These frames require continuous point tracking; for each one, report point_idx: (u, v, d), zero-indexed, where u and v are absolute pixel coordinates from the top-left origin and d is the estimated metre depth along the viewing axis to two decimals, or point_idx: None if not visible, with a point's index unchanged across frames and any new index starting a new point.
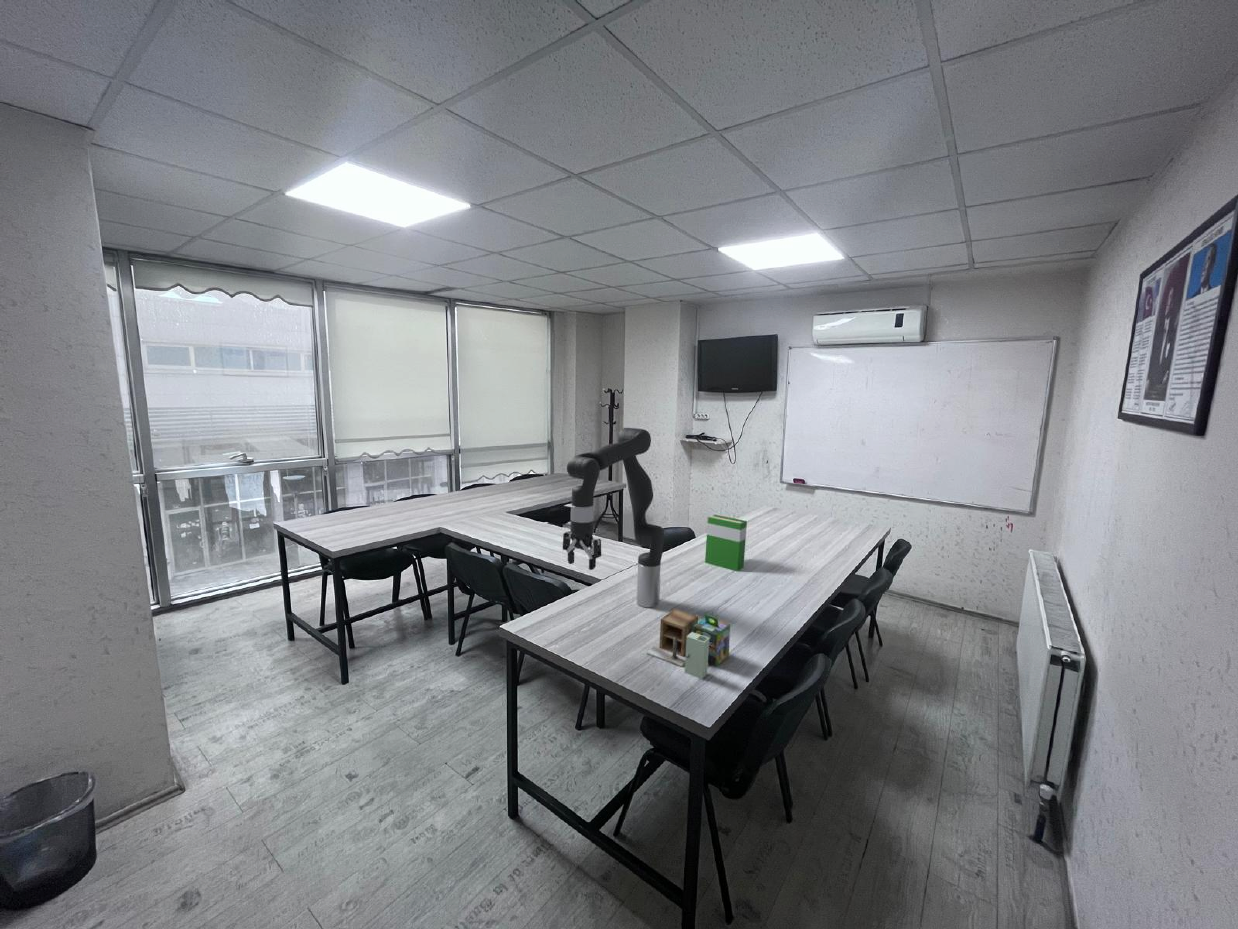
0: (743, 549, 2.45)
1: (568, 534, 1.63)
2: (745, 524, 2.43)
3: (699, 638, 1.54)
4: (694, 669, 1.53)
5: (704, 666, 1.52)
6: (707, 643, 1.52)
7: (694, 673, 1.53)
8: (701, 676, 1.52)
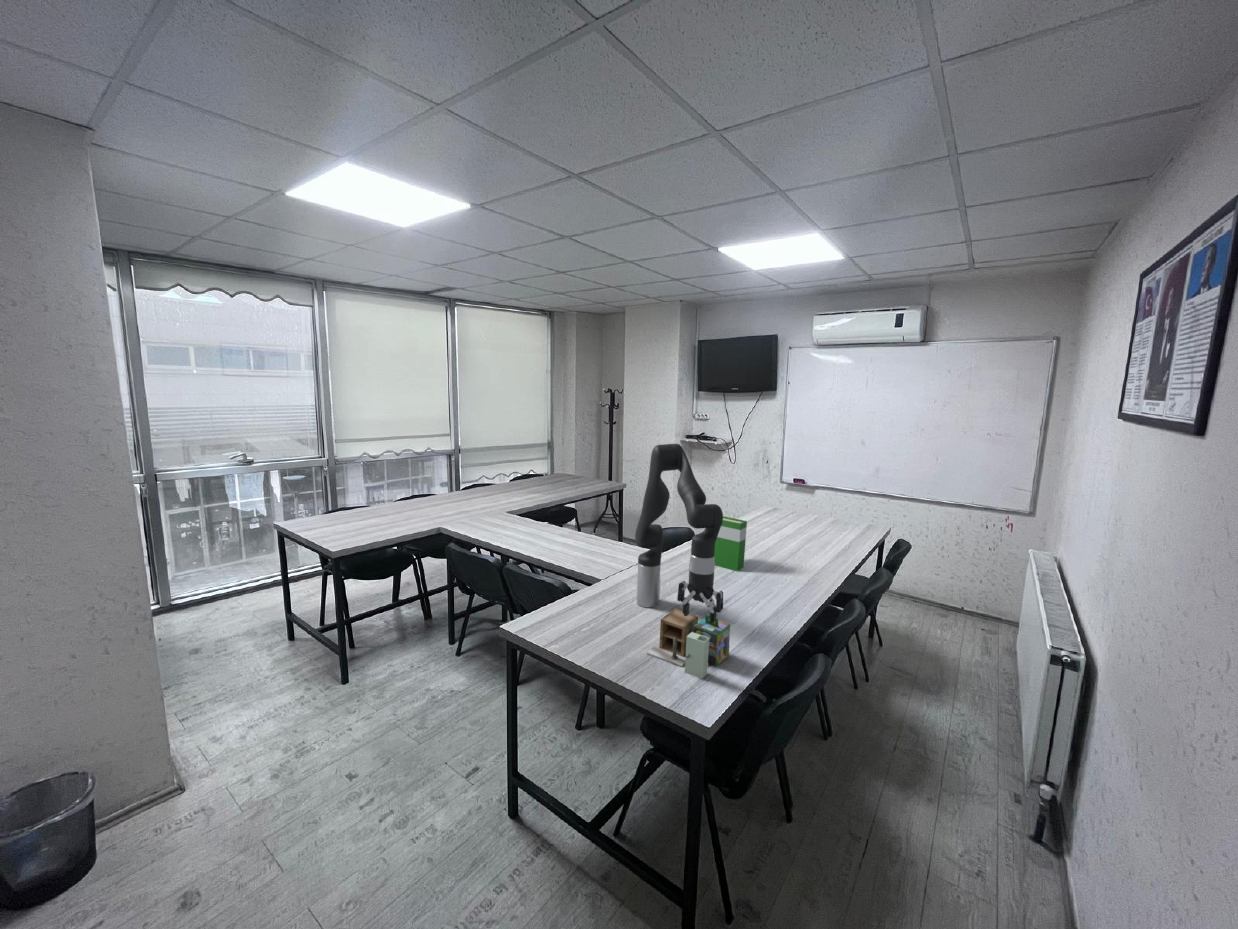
0: (743, 549, 2.45)
1: (684, 584, 1.53)
2: (745, 524, 2.43)
3: (699, 638, 1.54)
4: (694, 669, 1.53)
5: (704, 666, 1.52)
6: (707, 643, 1.52)
7: (694, 673, 1.53)
8: (701, 676, 1.52)
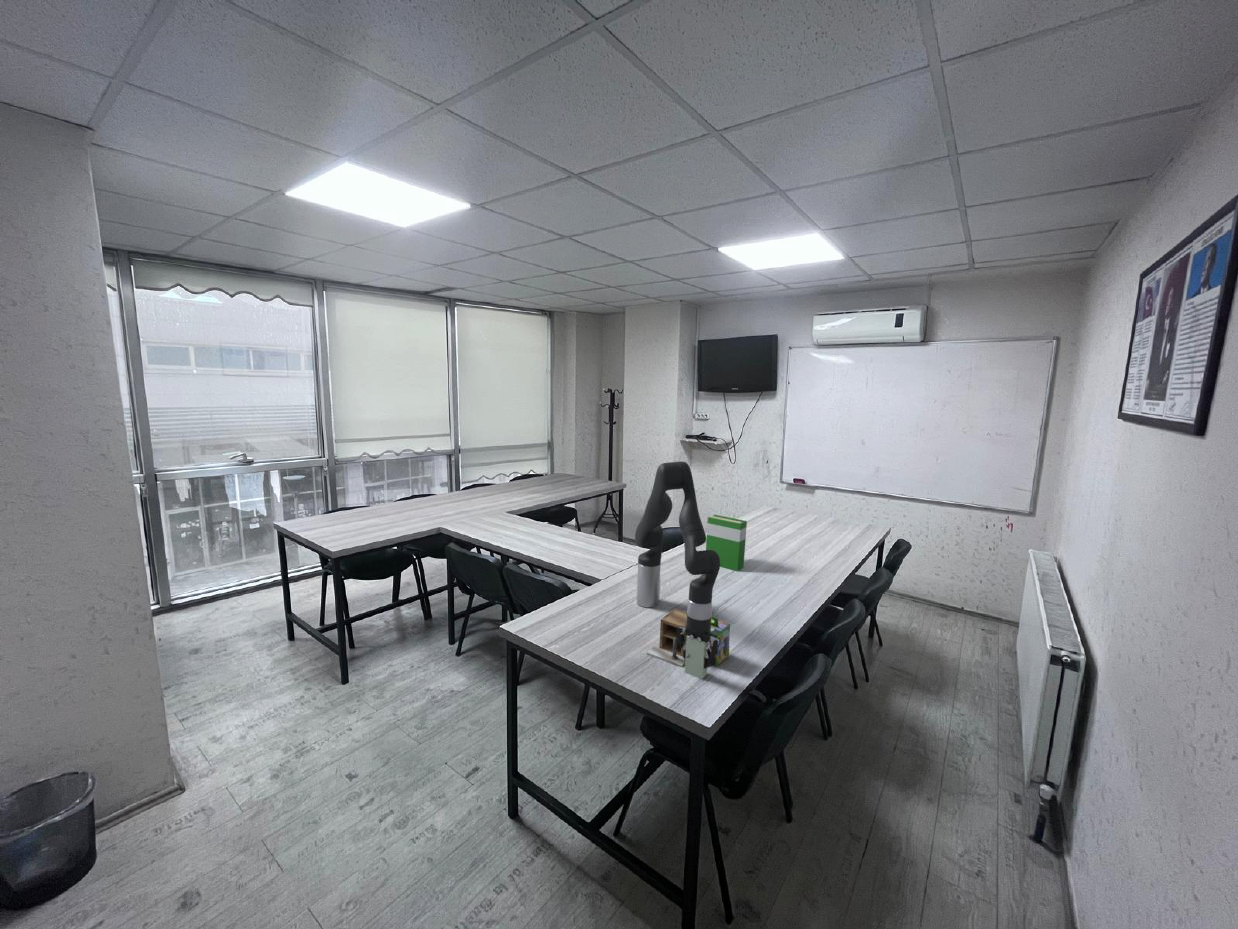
0: (743, 549, 2.45)
1: (682, 629, 1.56)
2: (745, 524, 2.43)
3: None
4: (694, 669, 1.53)
5: None
6: (707, 643, 1.52)
7: (694, 673, 1.53)
8: (701, 676, 1.52)
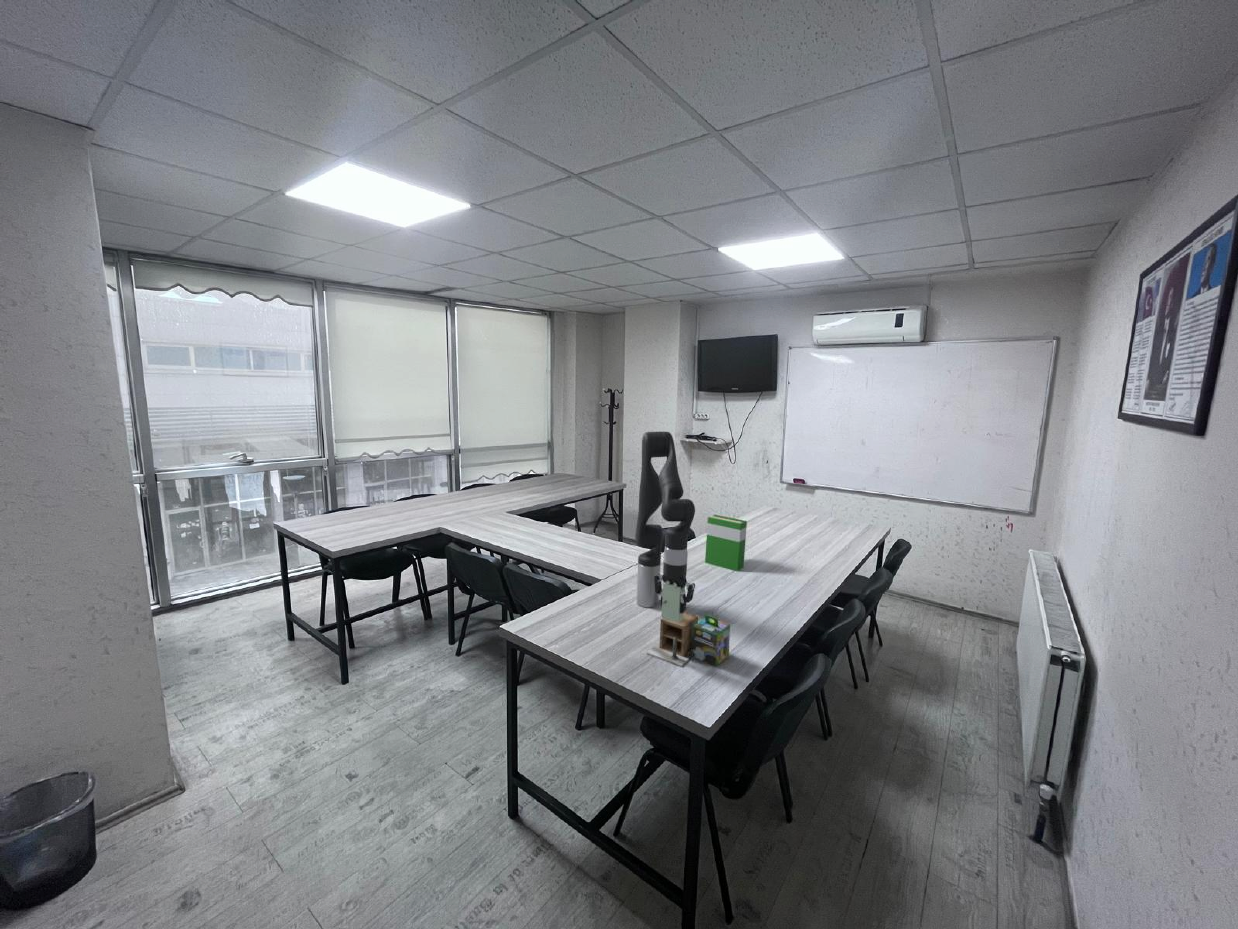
0: (743, 549, 2.45)
1: (659, 577, 1.61)
2: (745, 524, 2.43)
3: None
4: (670, 614, 1.59)
5: None
6: (683, 589, 1.58)
7: (670, 618, 1.59)
8: (677, 621, 1.58)
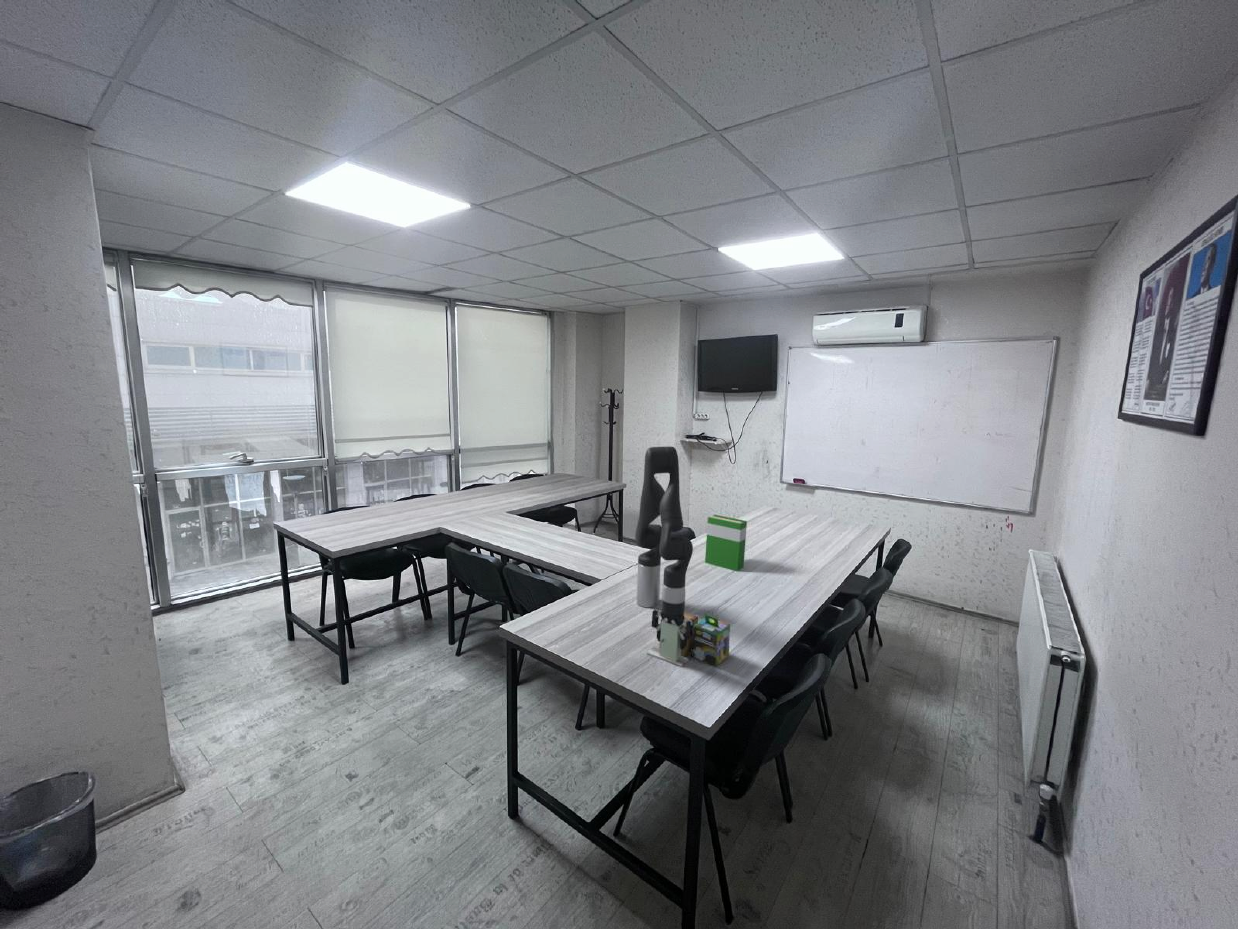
0: (743, 549, 2.45)
1: (657, 612, 1.63)
2: (745, 524, 2.43)
3: None
4: (668, 652, 1.61)
5: (677, 649, 1.60)
6: (680, 628, 1.60)
7: (668, 656, 1.61)
8: (675, 659, 1.60)
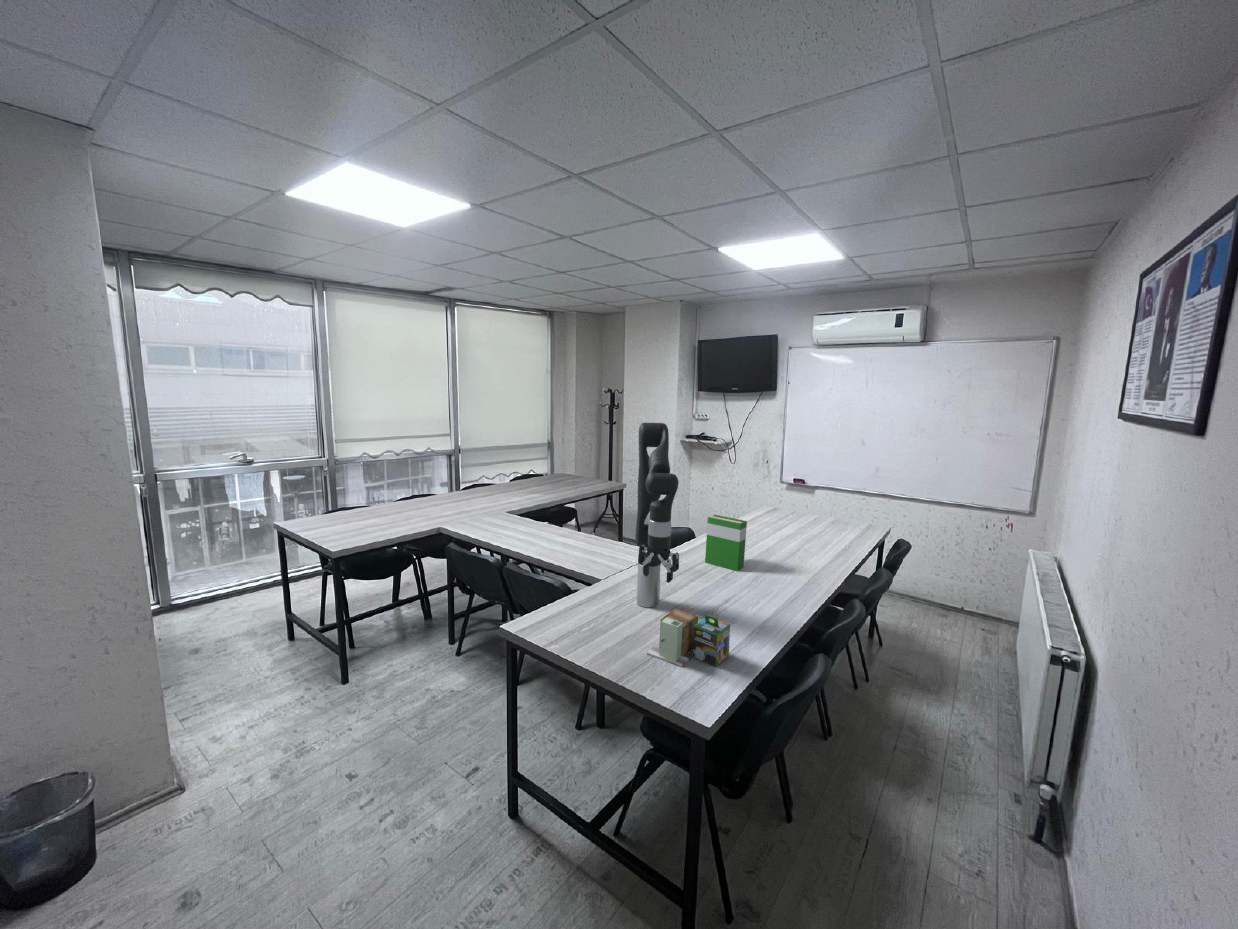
0: (743, 549, 2.45)
1: (644, 547, 1.67)
2: (745, 524, 2.43)
3: (673, 623, 1.62)
4: (668, 652, 1.61)
5: (677, 649, 1.60)
6: (680, 628, 1.60)
7: (668, 656, 1.61)
8: (675, 659, 1.60)
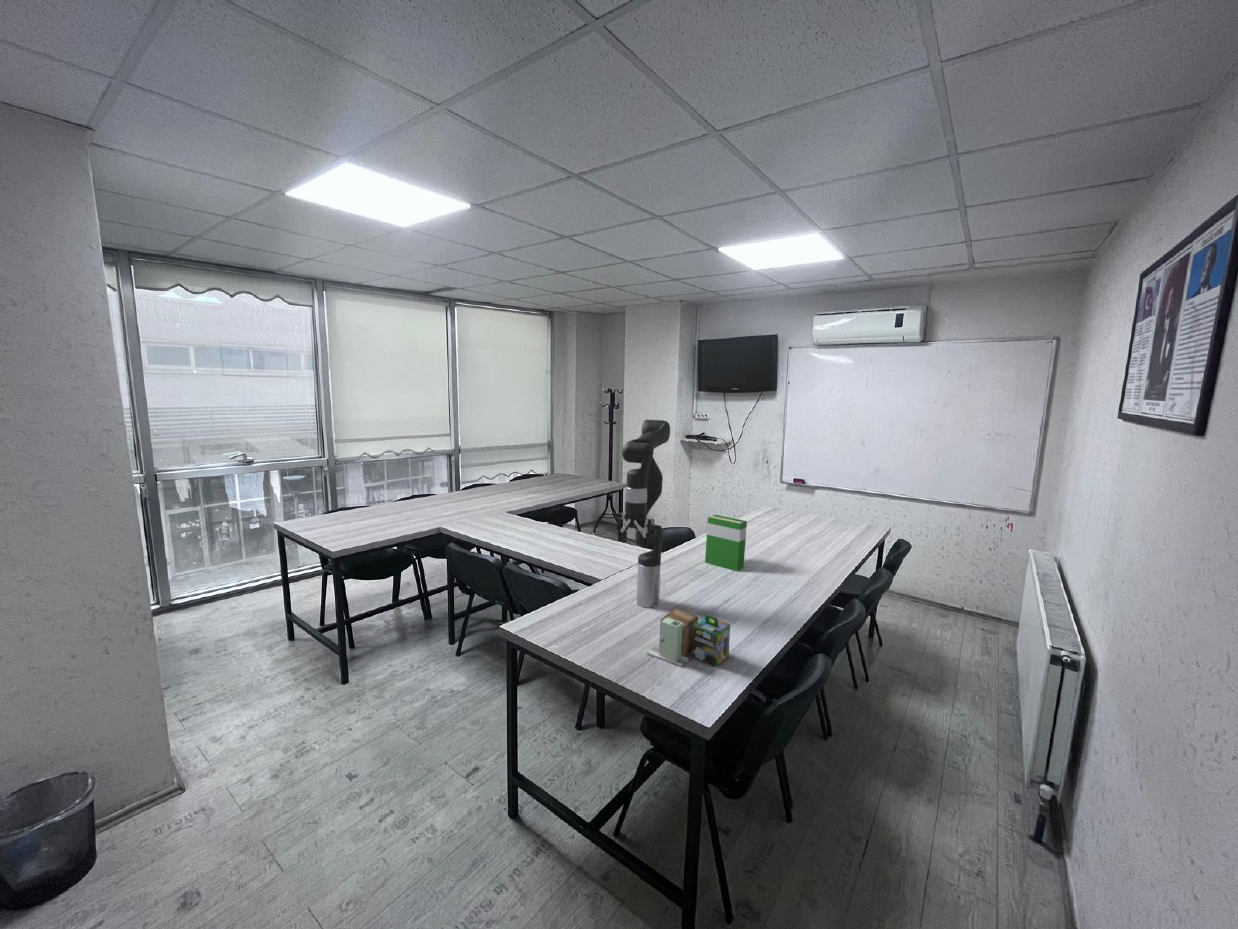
0: (743, 549, 2.45)
1: (622, 515, 1.75)
2: (745, 524, 2.43)
3: (673, 623, 1.62)
4: (668, 652, 1.61)
5: (677, 649, 1.60)
6: (680, 628, 1.60)
7: (668, 656, 1.61)
8: (675, 659, 1.60)
